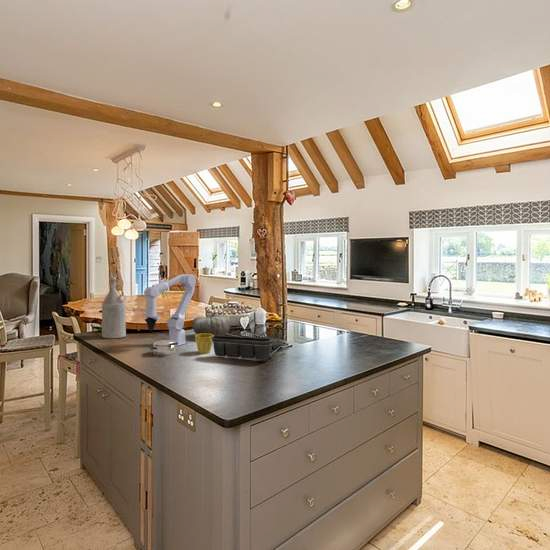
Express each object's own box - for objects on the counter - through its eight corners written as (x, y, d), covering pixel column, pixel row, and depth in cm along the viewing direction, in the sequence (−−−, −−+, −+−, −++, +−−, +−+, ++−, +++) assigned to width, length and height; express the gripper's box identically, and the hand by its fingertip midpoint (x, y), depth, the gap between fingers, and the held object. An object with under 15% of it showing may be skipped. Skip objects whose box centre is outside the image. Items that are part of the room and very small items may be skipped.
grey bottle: (117, 339, 251) (118, 277, 249) (96, 337, 257) (96, 276, 255) (131, 336, 263) (131, 276, 261) (111, 334, 269) (111, 276, 267)
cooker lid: (166, 341, 227) (166, 339, 227) (182, 343, 219) (182, 341, 219) (148, 344, 218) (148, 342, 218) (164, 347, 209) (164, 345, 209)
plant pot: (209, 355, 217) (209, 337, 217) (192, 353, 219) (192, 336, 219) (216, 350, 227) (216, 334, 227) (199, 349, 229) (199, 333, 229)
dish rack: (208, 358, 210) (208, 336, 210) (239, 342, 253) (239, 323, 252) (268, 365, 201) (269, 341, 200) (290, 346, 243) (290, 327, 242)
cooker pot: (169, 348, 230) (170, 340, 229) (183, 352, 223) (183, 343, 222) (144, 354, 216) (144, 345, 216) (158, 357, 209) (158, 348, 209)
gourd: (221, 338, 249) (218, 311, 251) (186, 341, 256) (184, 315, 258) (236, 335, 273) (234, 310, 274) (204, 338, 280) (202, 314, 281)
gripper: (137, 306, 230) (137, 330, 230) (152, 309, 221) (152, 333, 222) (148, 305, 236) (147, 328, 236) (163, 308, 227) (163, 331, 227)
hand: (151, 330), depth 229 cm, fingers closed
